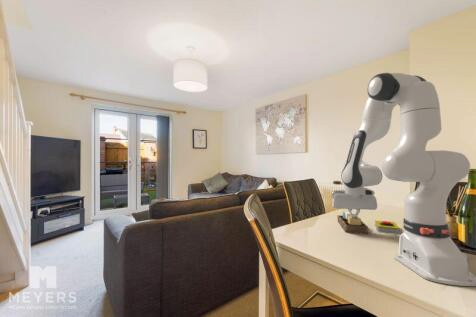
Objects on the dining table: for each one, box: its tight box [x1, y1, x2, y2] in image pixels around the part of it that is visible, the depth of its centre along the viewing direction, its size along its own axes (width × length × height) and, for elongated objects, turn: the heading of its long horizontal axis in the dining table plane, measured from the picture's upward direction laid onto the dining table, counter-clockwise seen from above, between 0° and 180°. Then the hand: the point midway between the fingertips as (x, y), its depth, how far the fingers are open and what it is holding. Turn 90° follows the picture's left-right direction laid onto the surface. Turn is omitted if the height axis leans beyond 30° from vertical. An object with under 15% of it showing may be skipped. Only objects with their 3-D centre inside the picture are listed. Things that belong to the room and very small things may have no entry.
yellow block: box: [348, 216, 362, 226], centre depth 111 cm, size 4×5×4 cm
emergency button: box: [374, 220, 401, 236], centre depth 112 cm, size 9×4×15 cm
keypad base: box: [337, 214, 369, 235], centre depth 117 cm, size 20×10×3 cm, turn 166°
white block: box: [344, 211, 356, 220], centre depth 117 cm, size 4×5×4 cm
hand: (354, 217), depth 111 cm, fingers closed, pressing on yellow block
